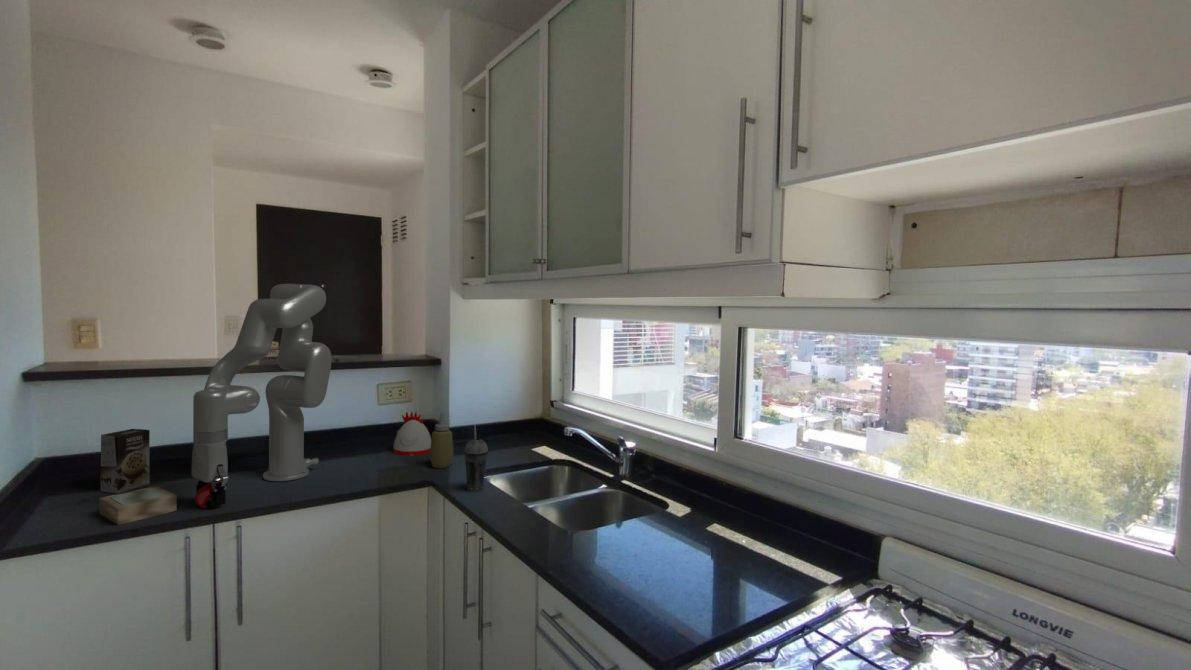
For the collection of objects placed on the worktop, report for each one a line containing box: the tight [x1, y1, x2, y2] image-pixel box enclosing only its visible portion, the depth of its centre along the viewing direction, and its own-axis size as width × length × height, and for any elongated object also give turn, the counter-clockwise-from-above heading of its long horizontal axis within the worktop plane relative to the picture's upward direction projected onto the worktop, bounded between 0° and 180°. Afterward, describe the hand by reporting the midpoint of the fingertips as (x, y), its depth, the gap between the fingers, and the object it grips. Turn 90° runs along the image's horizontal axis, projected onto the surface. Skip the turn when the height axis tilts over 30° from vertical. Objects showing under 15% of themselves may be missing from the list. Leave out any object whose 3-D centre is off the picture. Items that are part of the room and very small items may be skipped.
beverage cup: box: [463, 424, 489, 493], centre depth 167 cm, size 7×7×20 cm
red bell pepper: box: [194, 482, 227, 509], centre depth 148 cm, size 8×6×6 cm
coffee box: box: [100, 428, 150, 494], centre depth 157 cm, size 9×6×16 cm
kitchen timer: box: [392, 411, 432, 457], centre depth 207 cm, size 14×14×15 cm
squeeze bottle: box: [428, 413, 455, 469], centre depth 189 cm, size 8×8×18 cm
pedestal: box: [98, 485, 178, 526], centre depth 141 cm, size 12×12×4 cm
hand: (210, 501), depth 148 cm, fingers open, 7 cm apart
